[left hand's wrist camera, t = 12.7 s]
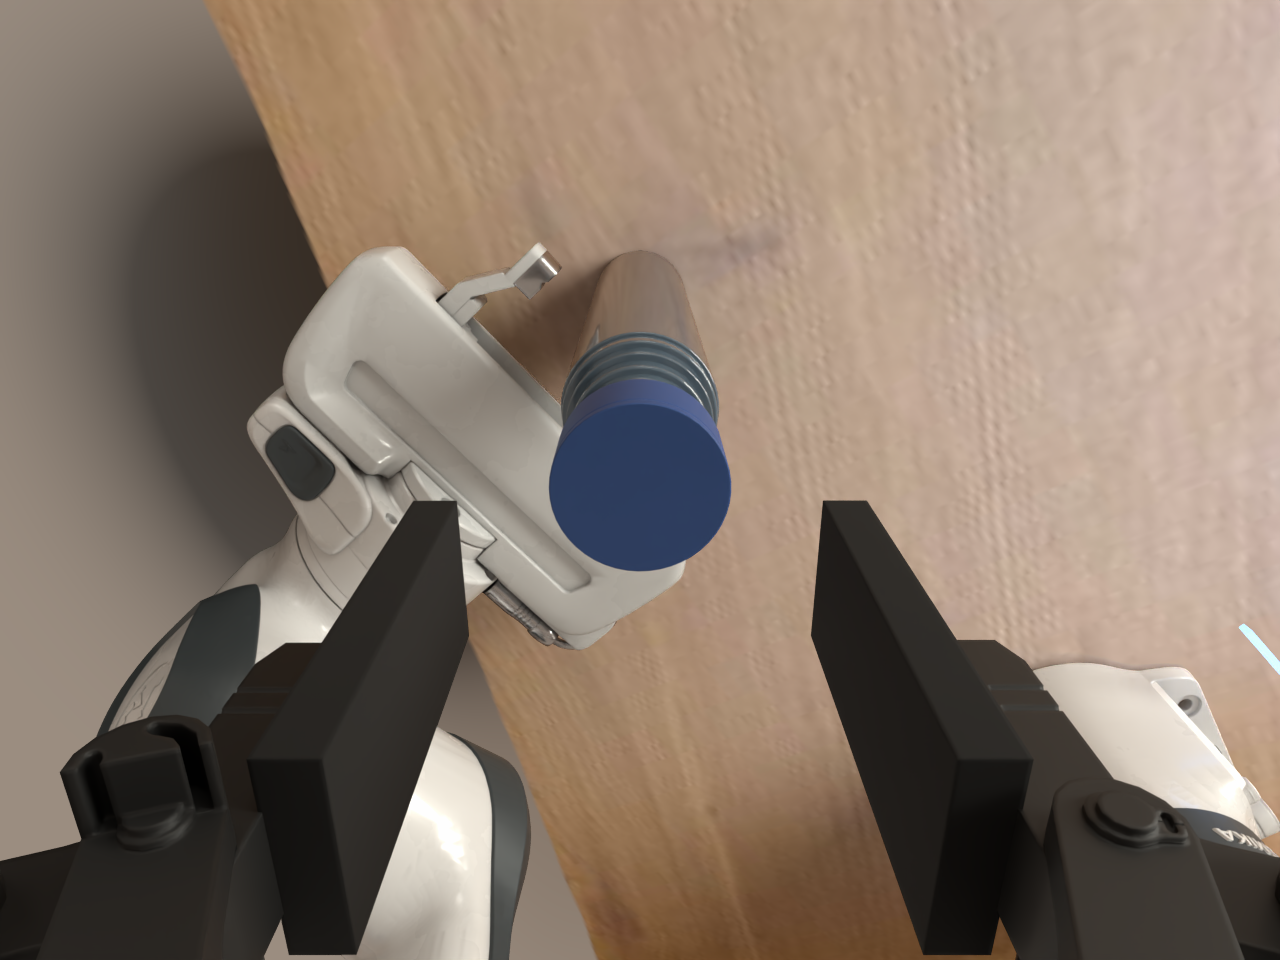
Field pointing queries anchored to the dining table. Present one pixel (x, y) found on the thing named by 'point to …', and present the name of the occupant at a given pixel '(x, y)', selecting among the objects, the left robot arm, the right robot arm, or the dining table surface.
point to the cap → (639, 476)
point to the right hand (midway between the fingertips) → (625, 336)
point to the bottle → (640, 334)
